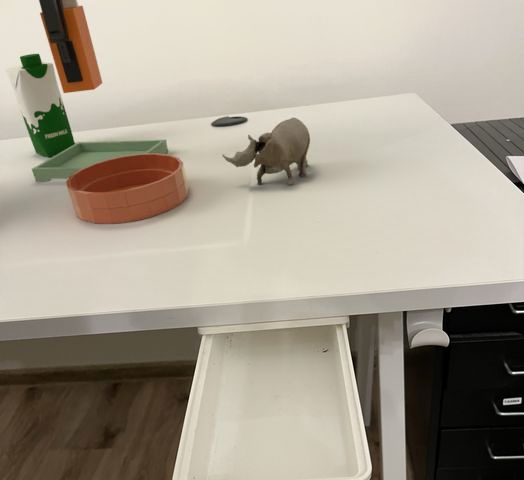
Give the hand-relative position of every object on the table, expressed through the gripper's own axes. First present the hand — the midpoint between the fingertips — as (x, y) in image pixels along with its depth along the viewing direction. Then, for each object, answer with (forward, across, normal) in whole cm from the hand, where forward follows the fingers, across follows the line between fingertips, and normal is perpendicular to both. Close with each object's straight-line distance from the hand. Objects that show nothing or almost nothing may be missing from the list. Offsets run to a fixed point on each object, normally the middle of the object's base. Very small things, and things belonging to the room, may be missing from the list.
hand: (80, 77), depth 104 cm
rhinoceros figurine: (+17, -19, -36) cm, 44 cm away
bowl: (+17, -24, -11) cm, 31 cm away
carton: (+2, 0, 0) cm, 2 cm away
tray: (+17, 0, 0) cm, 17 cm away
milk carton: (+17, +16, +16) cm, 28 cm away
